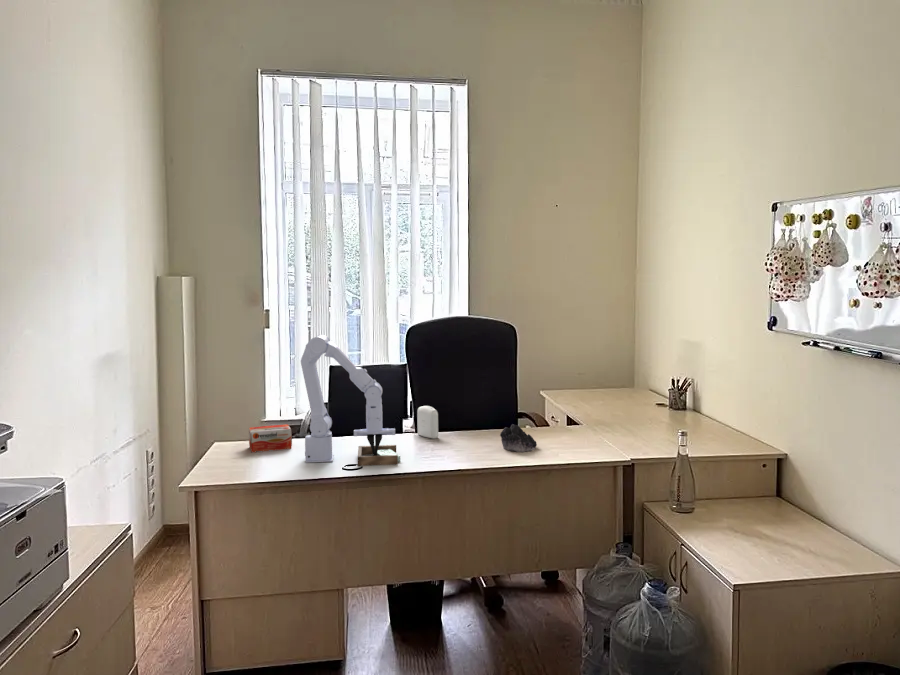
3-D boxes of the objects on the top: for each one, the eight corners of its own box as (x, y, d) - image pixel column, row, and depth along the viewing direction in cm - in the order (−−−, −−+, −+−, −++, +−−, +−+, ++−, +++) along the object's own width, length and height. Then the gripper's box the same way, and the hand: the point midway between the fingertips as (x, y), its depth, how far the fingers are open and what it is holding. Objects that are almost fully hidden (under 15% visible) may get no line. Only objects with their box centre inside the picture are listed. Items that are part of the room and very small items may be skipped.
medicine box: (250, 453, 258) (250, 431, 258) (248, 447, 266) (248, 427, 265) (292, 449, 264) (291, 428, 263) (289, 444, 271) (288, 423, 271)
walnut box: (357, 465, 240) (357, 457, 240) (358, 454, 255) (358, 446, 255) (397, 464, 241) (397, 455, 241) (396, 452, 257) (396, 444, 256)
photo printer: (415, 434, 285) (415, 405, 284) (424, 433, 287) (424, 403, 286) (431, 439, 277) (431, 408, 276) (439, 437, 280) (439, 407, 278)
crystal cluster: (537, 446, 269) (535, 420, 269) (537, 452, 255) (535, 425, 255) (502, 448, 270) (500, 422, 270) (500, 454, 257) (498, 427, 257)
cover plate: (384, 464, 243) (384, 457, 242) (374, 457, 253) (374, 450, 252) (400, 462, 245) (400, 455, 245) (390, 455, 255) (390, 448, 255)
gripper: (353, 420, 242) (354, 458, 243) (395, 419, 244) (395, 457, 245) (353, 416, 249) (354, 453, 250) (394, 415, 251) (395, 452, 252)
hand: (374, 455), depth 248 cm, fingers closed
